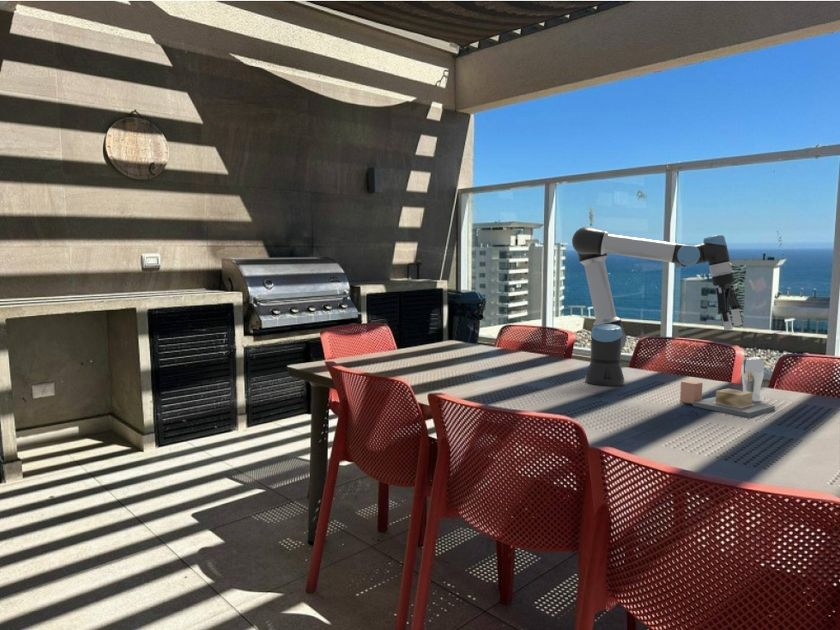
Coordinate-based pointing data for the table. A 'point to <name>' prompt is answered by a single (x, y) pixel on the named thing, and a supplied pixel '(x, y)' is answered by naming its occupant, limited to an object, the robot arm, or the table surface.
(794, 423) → the table surface
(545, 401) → the table surface
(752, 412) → the build board
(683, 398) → the terracotta block
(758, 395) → the beer glass
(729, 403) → the oak base block
